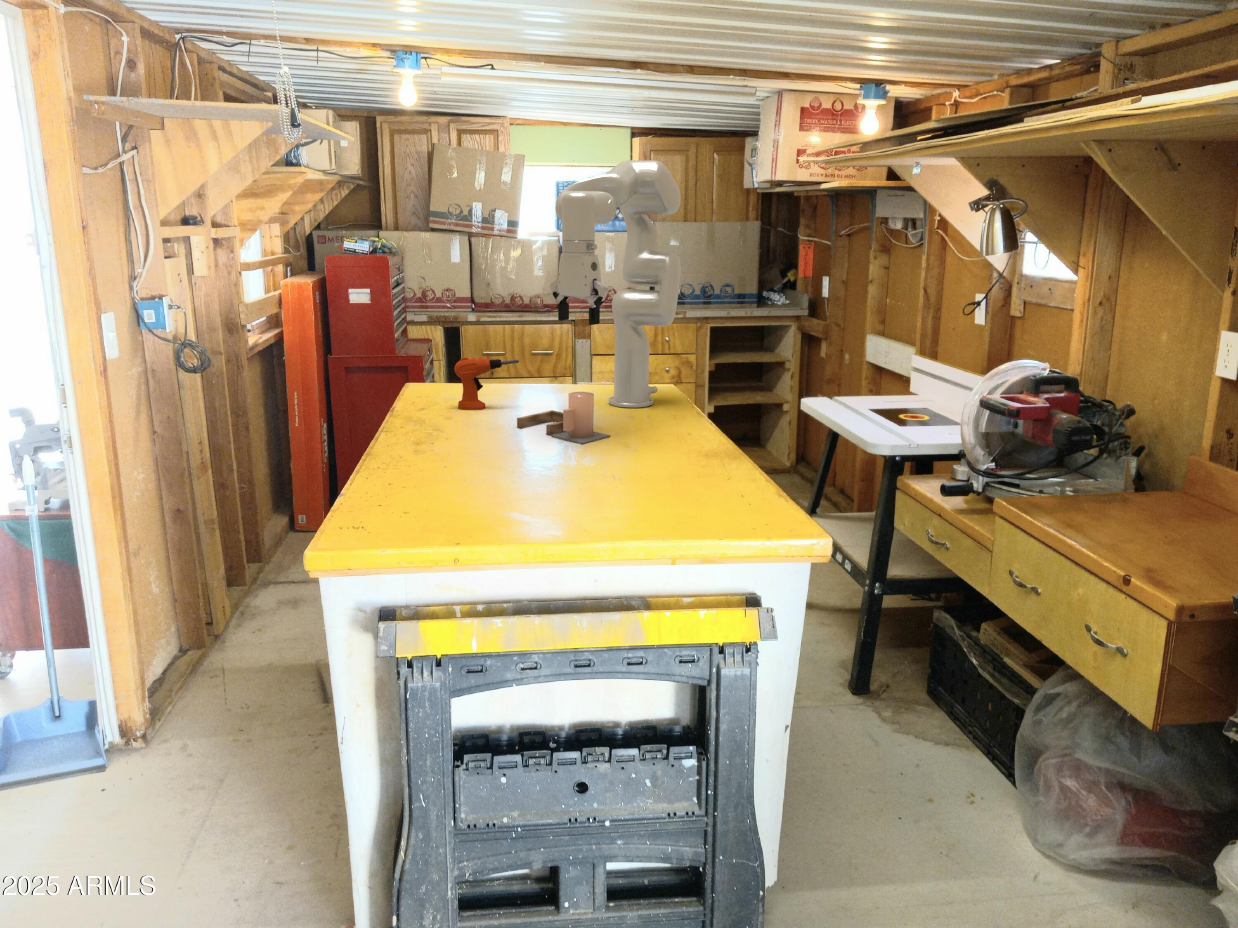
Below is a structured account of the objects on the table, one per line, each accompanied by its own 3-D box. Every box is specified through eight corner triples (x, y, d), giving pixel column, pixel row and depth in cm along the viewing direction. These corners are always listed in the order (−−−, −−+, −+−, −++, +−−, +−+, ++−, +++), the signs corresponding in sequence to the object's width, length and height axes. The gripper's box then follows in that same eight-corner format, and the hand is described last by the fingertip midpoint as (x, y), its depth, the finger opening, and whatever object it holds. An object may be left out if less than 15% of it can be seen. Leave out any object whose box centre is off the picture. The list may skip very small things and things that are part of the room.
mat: (579, 430, 227) (579, 428, 227) (610, 436, 221) (610, 435, 221) (551, 437, 220) (551, 435, 220) (582, 444, 214) (582, 442, 214)
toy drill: (525, 404, 248) (517, 352, 244) (458, 413, 247) (449, 360, 243) (524, 401, 253) (517, 349, 248) (459, 409, 251) (450, 357, 247)
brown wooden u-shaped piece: (552, 419, 237) (552, 410, 237) (584, 427, 230) (584, 417, 230) (517, 427, 228) (517, 418, 228) (549, 435, 221) (549, 425, 221)
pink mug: (580, 430, 225) (580, 390, 222) (598, 435, 221) (599, 394, 218) (556, 437, 218) (555, 395, 216) (574, 441, 215) (574, 399, 212)
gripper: (617, 249, 210) (617, 324, 215) (562, 245, 220) (562, 317, 225) (596, 250, 204) (596, 327, 209) (540, 247, 215) (541, 320, 220)
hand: (578, 322), depth 217 cm, fingers open, 9 cm apart
